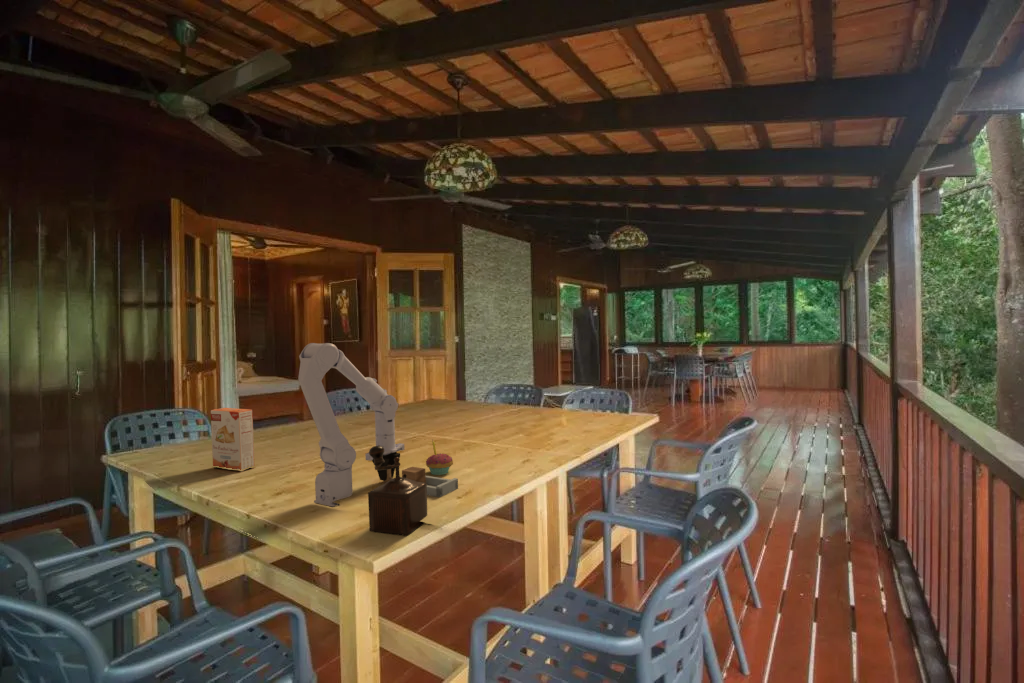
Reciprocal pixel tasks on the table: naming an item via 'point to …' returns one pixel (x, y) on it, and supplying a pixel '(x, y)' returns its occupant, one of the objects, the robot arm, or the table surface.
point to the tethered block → (410, 474)
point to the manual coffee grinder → (396, 501)
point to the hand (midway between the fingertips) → (386, 478)
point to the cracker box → (232, 438)
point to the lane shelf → (440, 486)
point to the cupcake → (439, 462)
